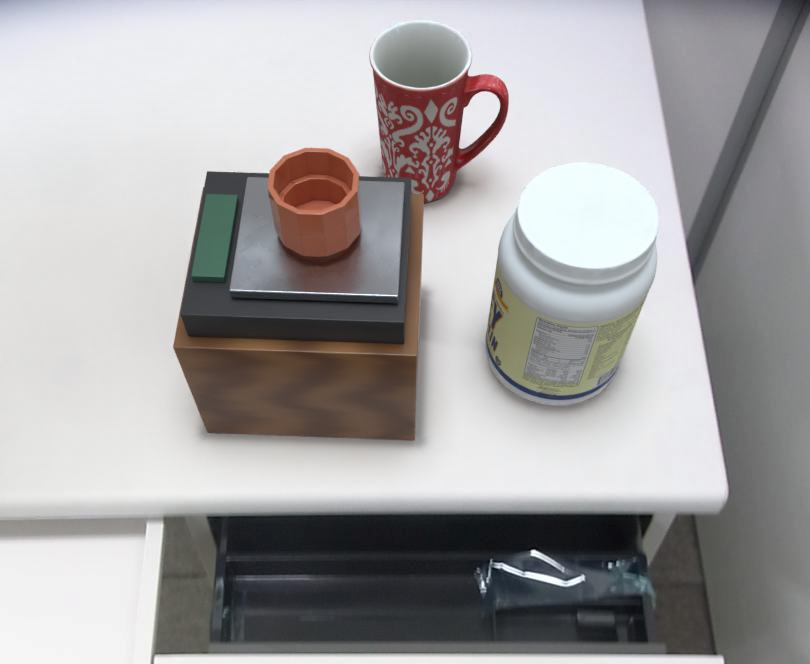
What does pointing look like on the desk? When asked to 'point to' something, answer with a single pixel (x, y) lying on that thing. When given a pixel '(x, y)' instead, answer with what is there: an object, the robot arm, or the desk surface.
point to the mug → (428, 103)
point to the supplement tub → (571, 282)
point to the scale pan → (321, 276)
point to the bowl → (315, 201)
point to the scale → (275, 318)
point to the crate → (310, 375)
